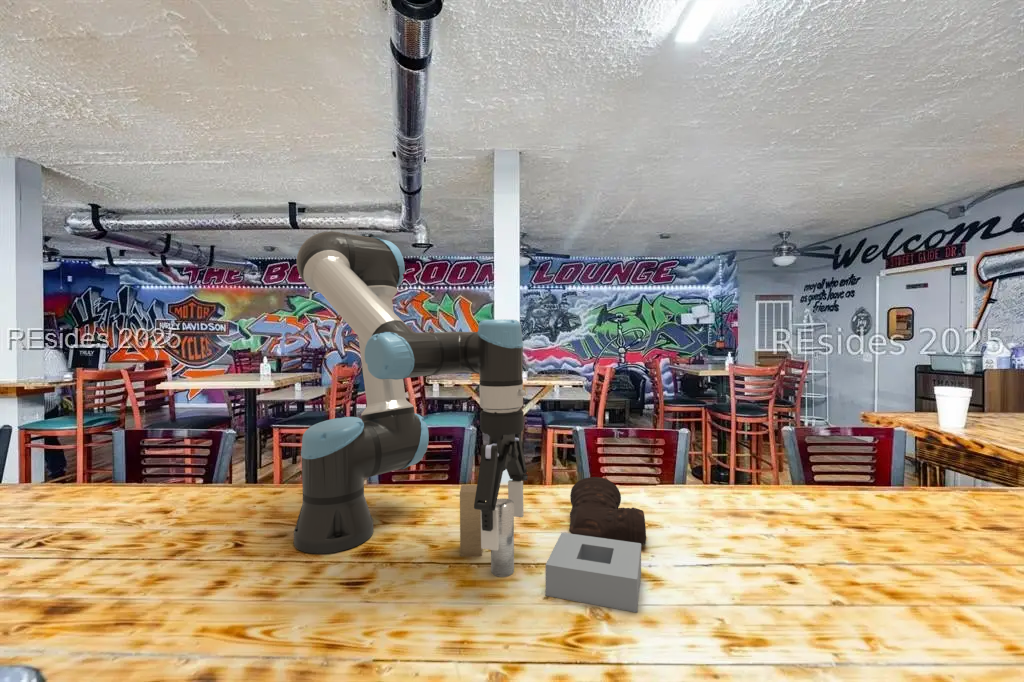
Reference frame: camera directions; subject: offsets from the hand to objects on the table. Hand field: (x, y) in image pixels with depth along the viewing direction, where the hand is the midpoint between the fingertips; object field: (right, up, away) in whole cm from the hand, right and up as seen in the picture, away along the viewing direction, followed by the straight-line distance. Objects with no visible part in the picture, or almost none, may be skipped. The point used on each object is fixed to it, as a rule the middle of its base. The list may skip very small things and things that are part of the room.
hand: (504, 531), depth 80 cm
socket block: (+15, -7, -4) cm, 17 cm away
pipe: (+21, -7, +16) cm, 27 cm away
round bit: (0, -7, +1) cm, 7 cm away
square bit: (-6, -7, +8) cm, 12 cm away
